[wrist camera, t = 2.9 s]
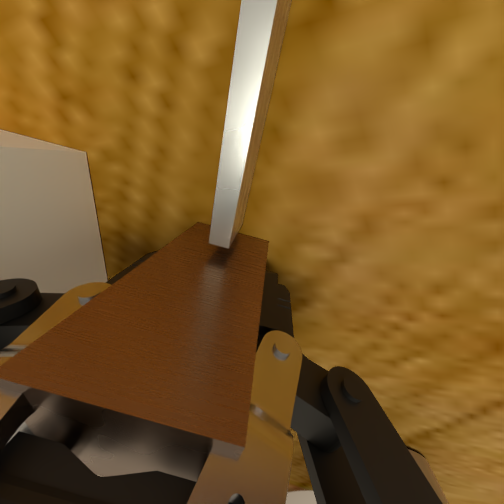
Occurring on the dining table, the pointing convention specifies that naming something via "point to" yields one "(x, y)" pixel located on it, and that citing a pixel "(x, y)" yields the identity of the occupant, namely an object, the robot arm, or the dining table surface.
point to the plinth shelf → (47, 215)
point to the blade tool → (169, 316)
